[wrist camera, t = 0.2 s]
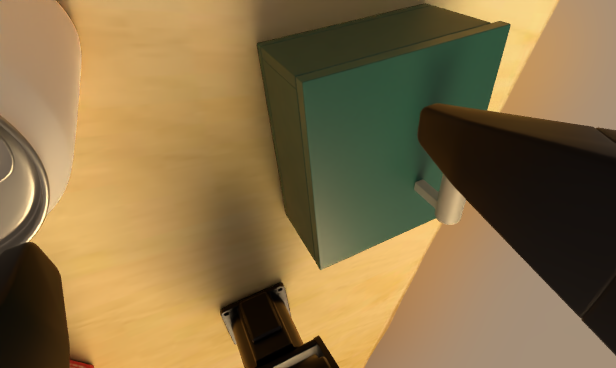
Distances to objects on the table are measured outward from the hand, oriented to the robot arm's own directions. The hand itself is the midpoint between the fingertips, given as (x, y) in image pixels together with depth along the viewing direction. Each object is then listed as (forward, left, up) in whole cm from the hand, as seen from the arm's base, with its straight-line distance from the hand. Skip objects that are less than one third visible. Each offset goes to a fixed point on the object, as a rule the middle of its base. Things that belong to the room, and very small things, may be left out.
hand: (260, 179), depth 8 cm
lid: (-9, -11, -9) cm, 17 cm away
